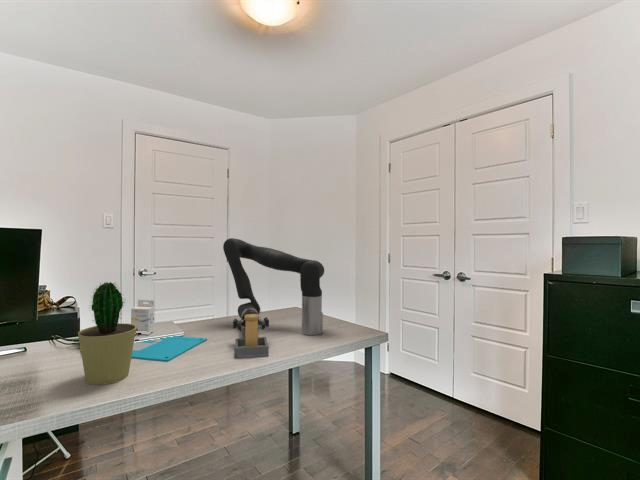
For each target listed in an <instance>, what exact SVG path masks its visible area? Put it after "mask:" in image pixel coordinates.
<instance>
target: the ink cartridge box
mask: <svg viewBox="0 0 640 480" xmlns="http://www.w3.org/2000/svg"><path fill="white" fill-rule="evenodd" d="M155 310H156V309H155V300H153V299H137V306H135V307H131V308H130V313H131V314H130V315H131V316H130V324H134V325H136V326H137V328H136V331H147V332H149V331H151V330H153V329H154V330H155Z"/></svg>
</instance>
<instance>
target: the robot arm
mask: <svg viewBox="0 0 640 480" xmlns="http://www.w3.org/2000/svg"><path fill="white" fill-rule="evenodd" d="M222 245H223V247H222V248H223V253H224V256H225V258H226V260H227V263H228V265H229V268H230V270H231V273H232V277H233V280H234V283H235V288H236V292H237V297H238V298H239V300H244V299H245V300H250V302H246V303H242V304H240V305H239V306H238V308H237V315H238V316H239V318H240V320H239V319H237V318H234V319H233V321H232V329H233V330H234V329H237V330H239V331H242V329H246V321H245V320H244V316H245V315H247V314H258V315H259V316H260V313H261V306H260V304H259V302H258V301H257V299H256V297H255V296H254V293H253V289H252V285H251V281H250V278H249V275H248V274H247V271H246V270H245V268H244V267H243V264H242V260H241V259H246V260H252V261H253V262H255V263H257V264H259V265H261V266H263V267H265V268H269V269H273V270H275V271H283V272H291V273H297V274H299V275H300V277H299V278H300V279H299V281H300V291H301V334H303V335H306V336H317V335H321V334H323V332H324V331H323V330H324V329H323V327H324V326H323V325H324V323H323V322H324V319H323V318H324V315H323V314H324V313H323V311H322V310H323V309H322V307H323V305H322V304H323V300H322V299H323V290H322V289H321V282H320V281H321V280H320V279H321V278H322V277H323V276H324V274H325V267H324V265H323V263H321V262H320V261H318V260H314V259H313V260H312V259H307V258H301V257H298V256H295V255H293V254H290V253H286V252H284V251H282V250H279V249H274V248H269V247H266V246H264V247H263V246H258V245H255V244H252V243H249V242H246V241H244V240H242V239H238V238H234V237H232V238H228V239H225V241H224V242H223V244H222ZM266 327H267V328H268V327H270V320H269V318H268V317H264V318H263V319H262V318H260V317H259V320H258V329H259V328H261V330H264V329H266Z"/></svg>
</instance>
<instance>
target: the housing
mask: <svg viewBox="0 0 640 480" xmlns="http://www.w3.org/2000/svg"><path fill="white" fill-rule="evenodd" d="M234 341H235V345H234V346H235V347H234V359H242V358H257V357H269V353H270V351H269V349H270V348H269V343H268V340H267V336H262V337H261V336H260V337H259V336H258V346H253V347H245V338H241V337H240V338H235V340H234Z"/></svg>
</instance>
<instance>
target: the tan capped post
mask: <svg viewBox="0 0 640 480" xmlns="http://www.w3.org/2000/svg"><path fill="white" fill-rule="evenodd" d="M259 318H260V314H259V315H258V314H247V315H245V316H244V320H245V321H246V328H245V347H253V346H258V338H259V336H258V335H259V331H258V330H259V328H258V320H259Z"/></svg>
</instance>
